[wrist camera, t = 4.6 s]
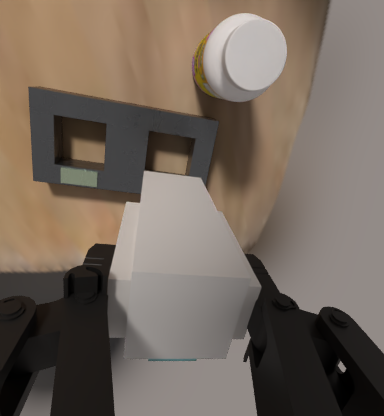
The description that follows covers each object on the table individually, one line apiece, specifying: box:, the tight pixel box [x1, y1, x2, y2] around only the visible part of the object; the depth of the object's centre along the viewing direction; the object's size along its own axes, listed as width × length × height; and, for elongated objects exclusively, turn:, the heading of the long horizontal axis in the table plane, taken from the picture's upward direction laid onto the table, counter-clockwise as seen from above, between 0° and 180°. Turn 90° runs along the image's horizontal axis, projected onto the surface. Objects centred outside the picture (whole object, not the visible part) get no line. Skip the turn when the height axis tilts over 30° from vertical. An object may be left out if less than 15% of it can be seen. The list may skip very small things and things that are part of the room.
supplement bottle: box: [192, 13, 287, 102], centre depth 25 cm, size 7×7×13 cm
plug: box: [124, 171, 251, 361], centre depth 15 cm, size 5×4×11 cm
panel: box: [28, 87, 219, 194], centre depth 32 cm, size 10×20×3 cm, turn 80°
